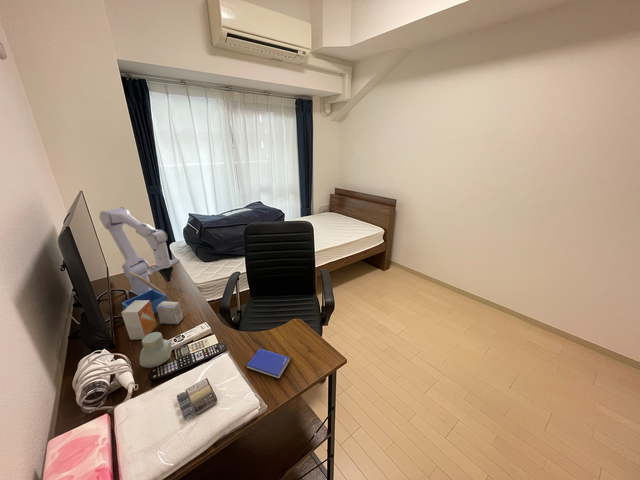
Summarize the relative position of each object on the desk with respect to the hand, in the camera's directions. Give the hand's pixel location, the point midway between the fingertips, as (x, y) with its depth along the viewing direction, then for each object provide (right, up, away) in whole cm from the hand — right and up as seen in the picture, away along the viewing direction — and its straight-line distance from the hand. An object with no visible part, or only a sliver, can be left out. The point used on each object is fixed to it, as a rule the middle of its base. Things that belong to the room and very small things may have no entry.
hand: (168, 281), depth 124 cm
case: (-6, -12, -6) cm, 15 cm away
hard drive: (+57, -24, -35) cm, 71 cm away
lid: (-5, 0, -8) cm, 10 cm away
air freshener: (+17, -23, -33) cm, 44 cm away
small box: (+3, -18, -20) cm, 27 cm away
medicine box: (+10, -15, -14) cm, 23 cm away
